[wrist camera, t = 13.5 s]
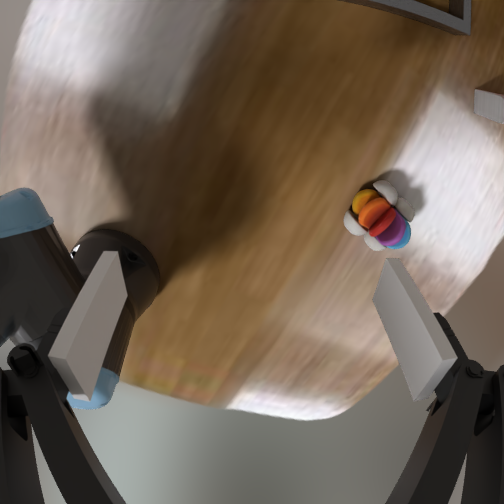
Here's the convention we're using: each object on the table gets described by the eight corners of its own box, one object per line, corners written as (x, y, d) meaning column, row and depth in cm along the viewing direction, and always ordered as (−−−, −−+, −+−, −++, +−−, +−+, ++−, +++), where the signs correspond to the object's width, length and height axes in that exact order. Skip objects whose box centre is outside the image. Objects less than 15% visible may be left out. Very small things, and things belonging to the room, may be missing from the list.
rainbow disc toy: (373, 167, 40) (395, 188, 34) (413, 208, 43) (436, 232, 37) (332, 212, 44) (346, 239, 37) (375, 247, 47) (392, 276, 41)
